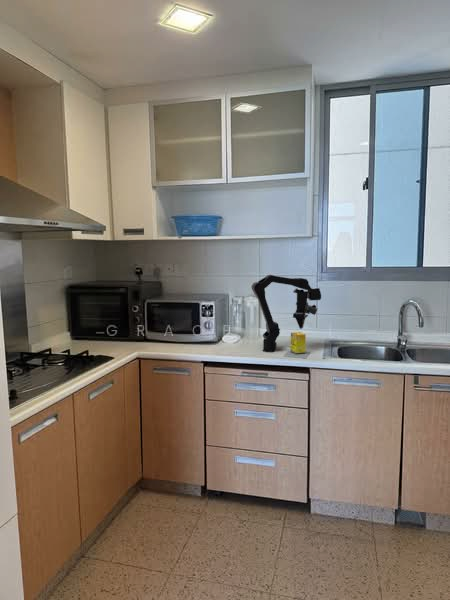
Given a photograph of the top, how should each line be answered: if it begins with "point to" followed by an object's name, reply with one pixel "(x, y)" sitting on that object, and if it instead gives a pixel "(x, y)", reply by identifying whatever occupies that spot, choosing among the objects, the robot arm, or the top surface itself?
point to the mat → (290, 354)
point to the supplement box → (298, 343)
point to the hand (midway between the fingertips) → (301, 328)
